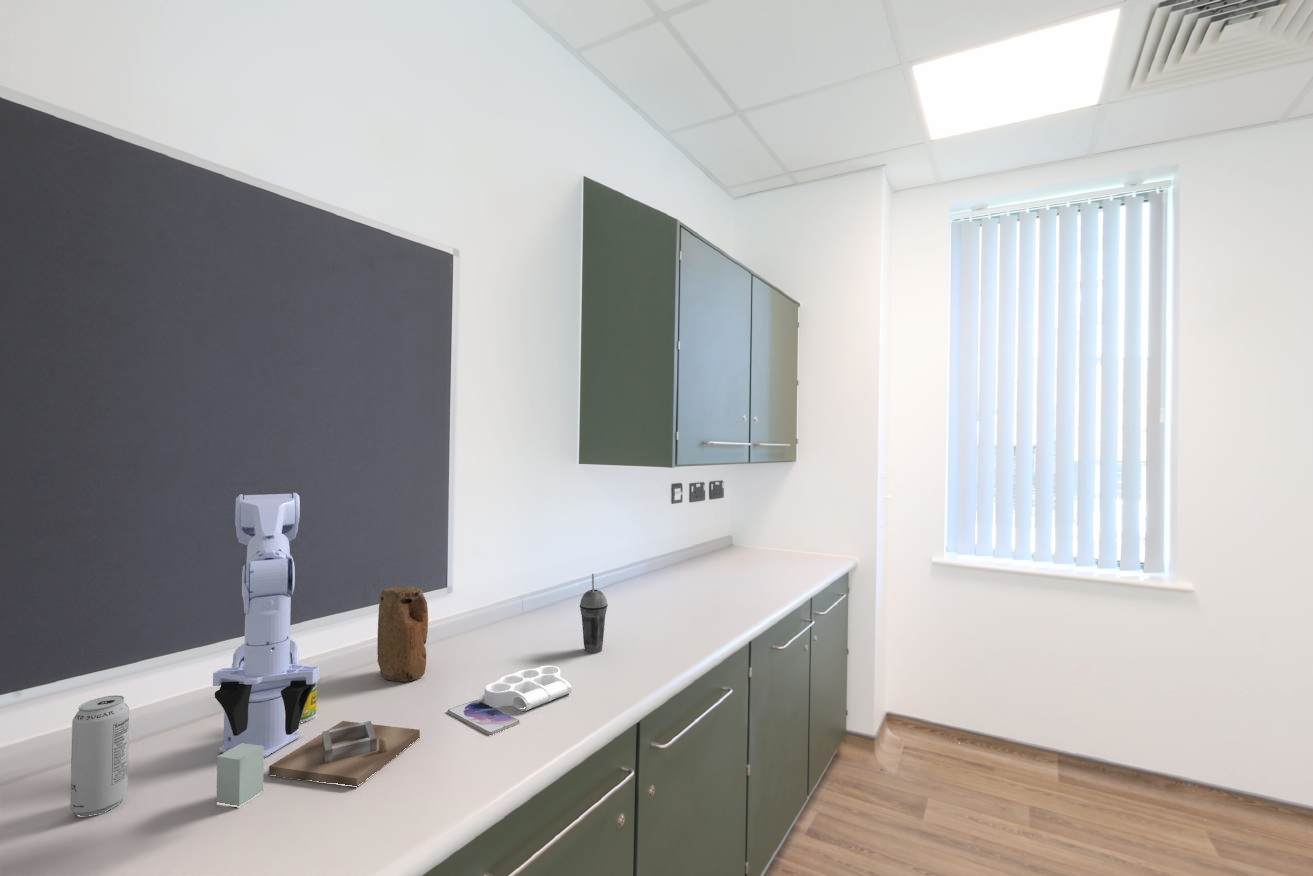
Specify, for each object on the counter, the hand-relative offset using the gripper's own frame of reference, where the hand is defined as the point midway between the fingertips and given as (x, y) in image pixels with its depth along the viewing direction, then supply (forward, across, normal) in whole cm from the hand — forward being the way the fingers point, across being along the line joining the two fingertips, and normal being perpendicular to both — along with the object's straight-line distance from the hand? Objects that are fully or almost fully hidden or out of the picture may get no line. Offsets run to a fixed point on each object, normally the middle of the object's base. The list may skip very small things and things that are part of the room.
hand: (266, 732), depth 88 cm
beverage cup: (+9, +44, +63) cm, 78 cm away
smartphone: (+10, +25, +26) cm, 38 cm away
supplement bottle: (+10, -10, +26) cm, 29 cm away
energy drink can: (+10, -22, -2) cm, 25 cm away
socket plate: (+10, +6, +12) cm, 17 cm away
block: (+9, +2, +47) cm, 48 cm away
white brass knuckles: (+10, +32, +37) cm, 50 cm away
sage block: (+10, -4, 0) cm, 10 cm away
